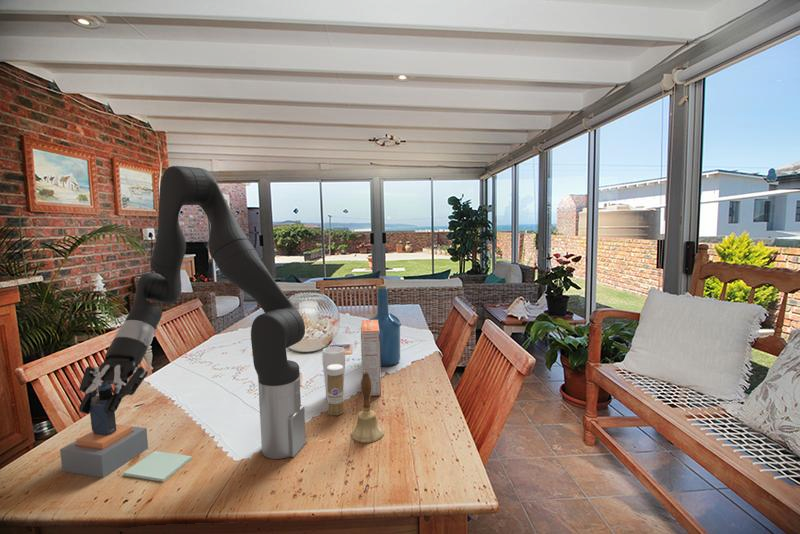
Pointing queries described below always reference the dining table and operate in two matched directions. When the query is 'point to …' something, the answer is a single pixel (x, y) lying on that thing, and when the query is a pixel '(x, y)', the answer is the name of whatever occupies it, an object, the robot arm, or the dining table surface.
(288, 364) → the robot arm
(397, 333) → the wine bottle
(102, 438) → the button
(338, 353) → the drinking glass
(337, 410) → the sprinkles bottle
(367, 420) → the hand bell
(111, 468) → the box
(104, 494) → the dining table surface
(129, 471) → the pad
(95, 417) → the vaping device
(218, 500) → the dining table surface
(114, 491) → the dining table surface
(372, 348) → the cracker box
